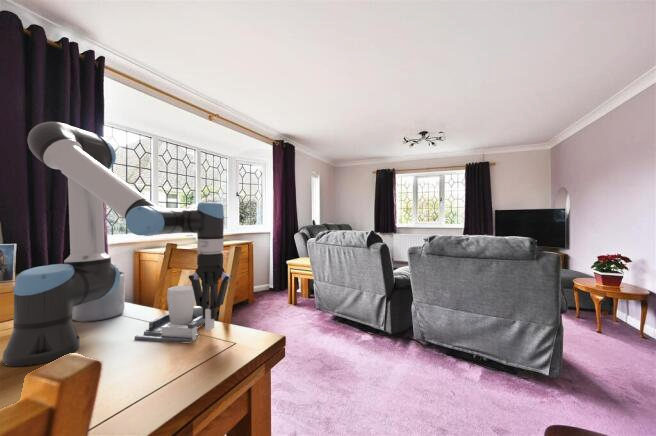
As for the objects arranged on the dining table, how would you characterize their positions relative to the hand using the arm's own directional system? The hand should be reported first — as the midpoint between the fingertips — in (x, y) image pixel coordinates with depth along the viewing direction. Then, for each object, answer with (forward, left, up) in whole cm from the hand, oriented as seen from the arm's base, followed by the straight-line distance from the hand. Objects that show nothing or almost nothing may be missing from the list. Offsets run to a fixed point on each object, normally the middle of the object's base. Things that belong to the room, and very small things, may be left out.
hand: (209, 329), depth 92 cm
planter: (-52, +15, -4) cm, 54 cm away
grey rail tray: (-16, +9, -4) cm, 19 cm away
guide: (-14, 0, -4) cm, 14 cm away
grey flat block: (-10, 0, -4) cm, 11 cm away
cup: (-16, +10, -3) cm, 19 cm away
